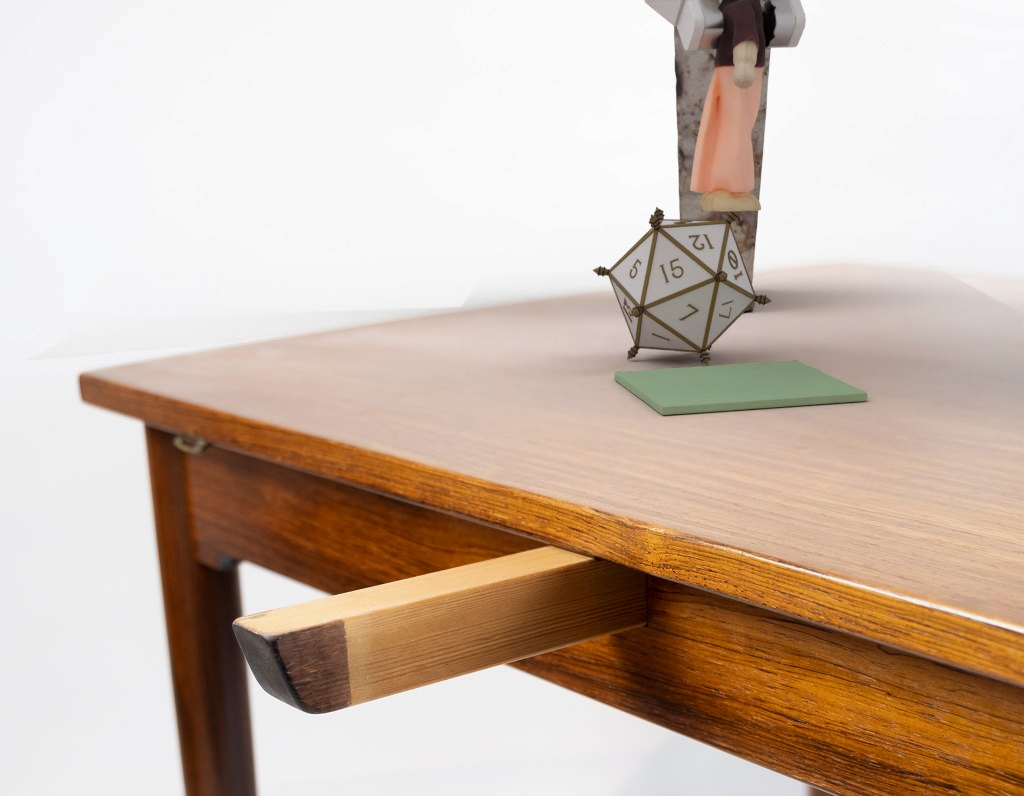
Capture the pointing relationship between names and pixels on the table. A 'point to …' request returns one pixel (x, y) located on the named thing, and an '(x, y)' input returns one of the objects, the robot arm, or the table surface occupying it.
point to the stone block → (690, 101)
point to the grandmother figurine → (731, 112)
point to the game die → (682, 285)
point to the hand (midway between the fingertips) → (746, 38)
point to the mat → (736, 387)
